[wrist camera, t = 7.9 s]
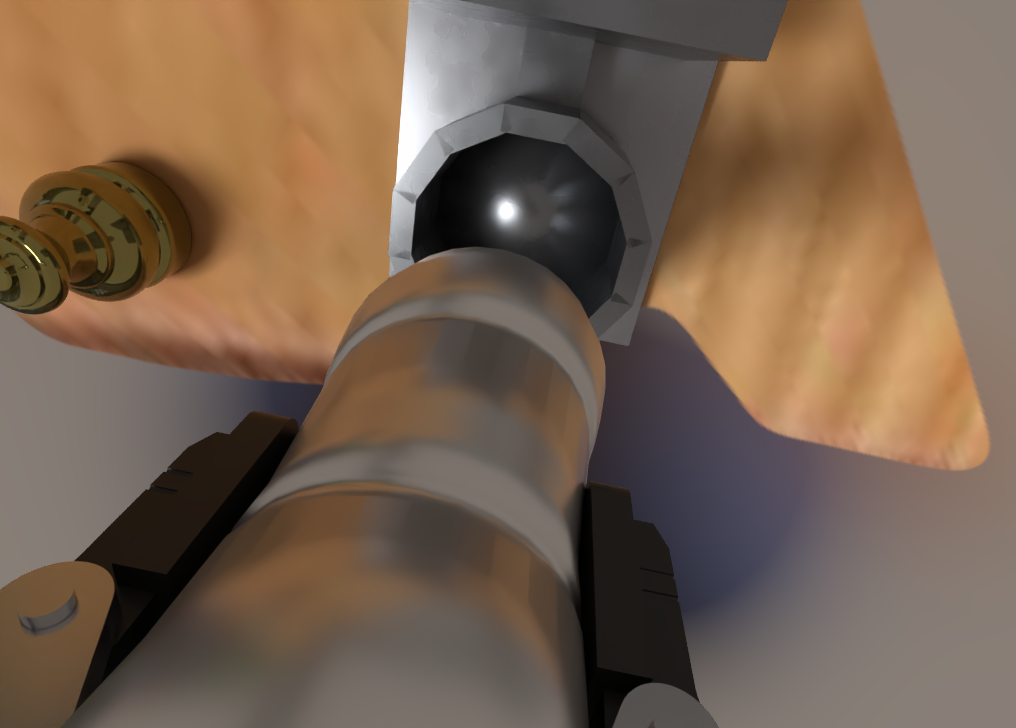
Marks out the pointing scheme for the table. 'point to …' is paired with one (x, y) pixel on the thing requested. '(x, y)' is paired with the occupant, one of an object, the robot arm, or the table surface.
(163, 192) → the brass knob
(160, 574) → the robot arm
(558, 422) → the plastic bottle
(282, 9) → the table surface
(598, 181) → the cup bracket
